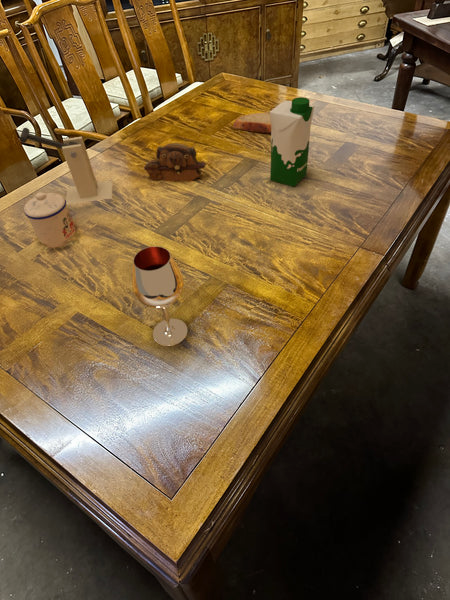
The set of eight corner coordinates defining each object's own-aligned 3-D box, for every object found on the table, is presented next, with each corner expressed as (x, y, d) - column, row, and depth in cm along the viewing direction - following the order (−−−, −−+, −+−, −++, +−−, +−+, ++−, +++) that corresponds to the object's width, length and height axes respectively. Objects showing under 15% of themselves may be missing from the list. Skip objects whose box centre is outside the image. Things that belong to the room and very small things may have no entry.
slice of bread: (229, 125, 134) (228, 113, 131) (276, 110, 139) (277, 99, 136) (258, 147, 123) (258, 134, 120) (309, 130, 128) (310, 118, 125)
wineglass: (170, 309, 80) (152, 234, 67) (201, 328, 77) (189, 253, 64) (139, 336, 76) (113, 262, 63) (170, 358, 73) (151, 284, 59)
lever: (19, 143, 95) (19, 134, 94) (22, 134, 98) (23, 124, 97) (79, 160, 100) (80, 151, 99) (80, 150, 104) (82, 142, 102)
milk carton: (295, 189, 106) (301, 110, 91) (264, 180, 110) (265, 102, 95) (311, 173, 111) (318, 95, 96) (281, 165, 114) (284, 89, 100)
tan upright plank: (66, 209, 107) (44, 155, 96) (68, 190, 113) (48, 137, 102) (113, 201, 108) (96, 147, 97) (113, 183, 114) (97, 130, 103)
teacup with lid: (76, 246, 96) (58, 202, 87) (36, 251, 95) (14, 208, 87) (80, 216, 104) (64, 173, 96) (44, 221, 104) (24, 179, 95)
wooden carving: (146, 187, 111) (138, 152, 104) (149, 178, 114) (141, 143, 107) (207, 185, 110) (204, 149, 103) (208, 176, 113) (205, 140, 106)
